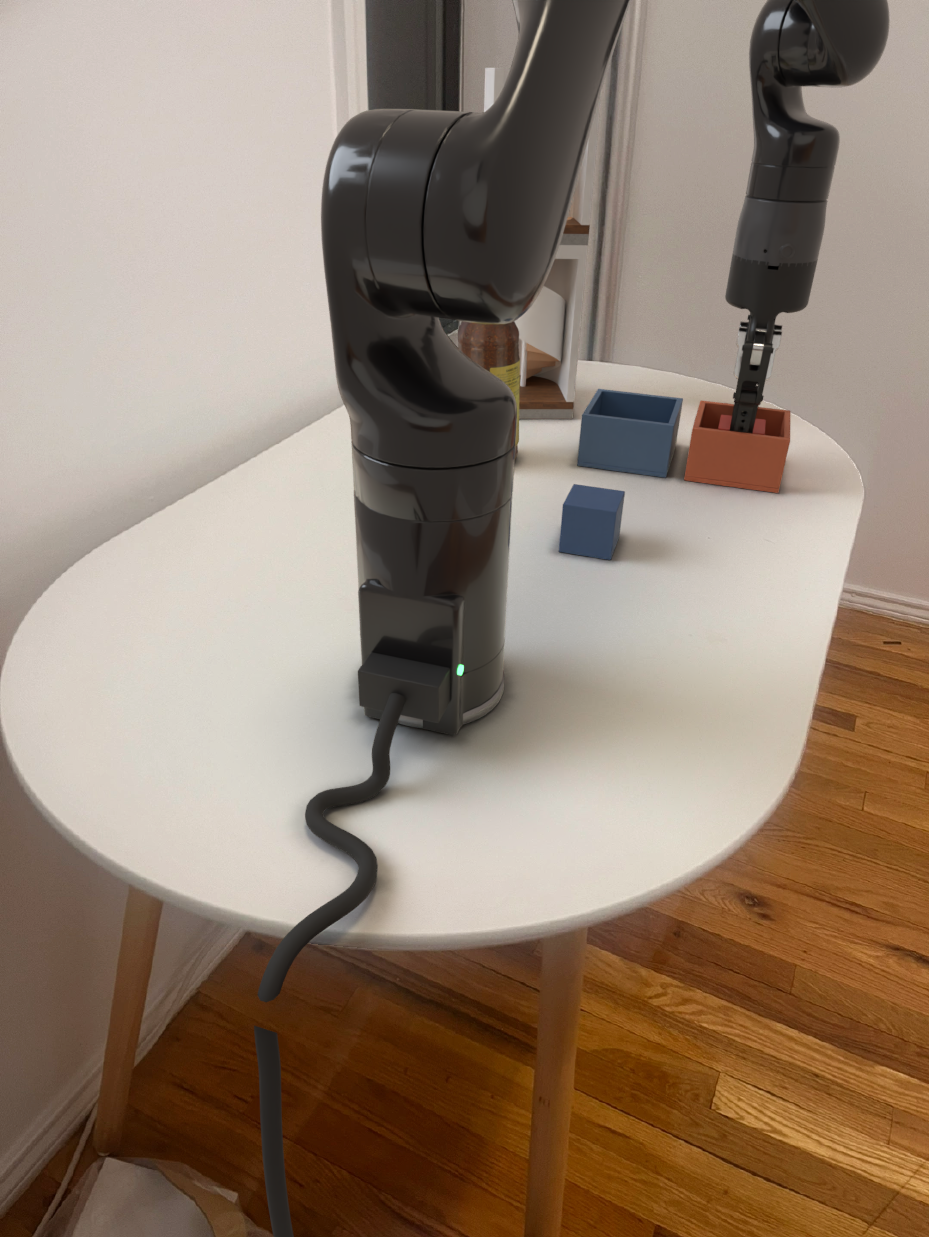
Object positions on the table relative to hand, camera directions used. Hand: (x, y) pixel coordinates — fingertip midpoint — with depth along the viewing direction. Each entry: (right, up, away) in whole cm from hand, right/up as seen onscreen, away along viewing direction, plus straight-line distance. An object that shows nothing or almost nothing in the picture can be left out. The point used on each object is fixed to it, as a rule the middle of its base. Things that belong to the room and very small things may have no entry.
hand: (740, 429), depth 89 cm
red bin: (0, -4, +2) cm, 4 cm away
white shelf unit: (-21, +7, +19) cm, 29 cm away
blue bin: (-11, -2, +5) cm, 12 cm away
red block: (0, -3, +2) cm, 4 cm away
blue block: (-17, -13, -13) cm, 25 cm away
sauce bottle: (-26, -2, +4) cm, 26 cm away
